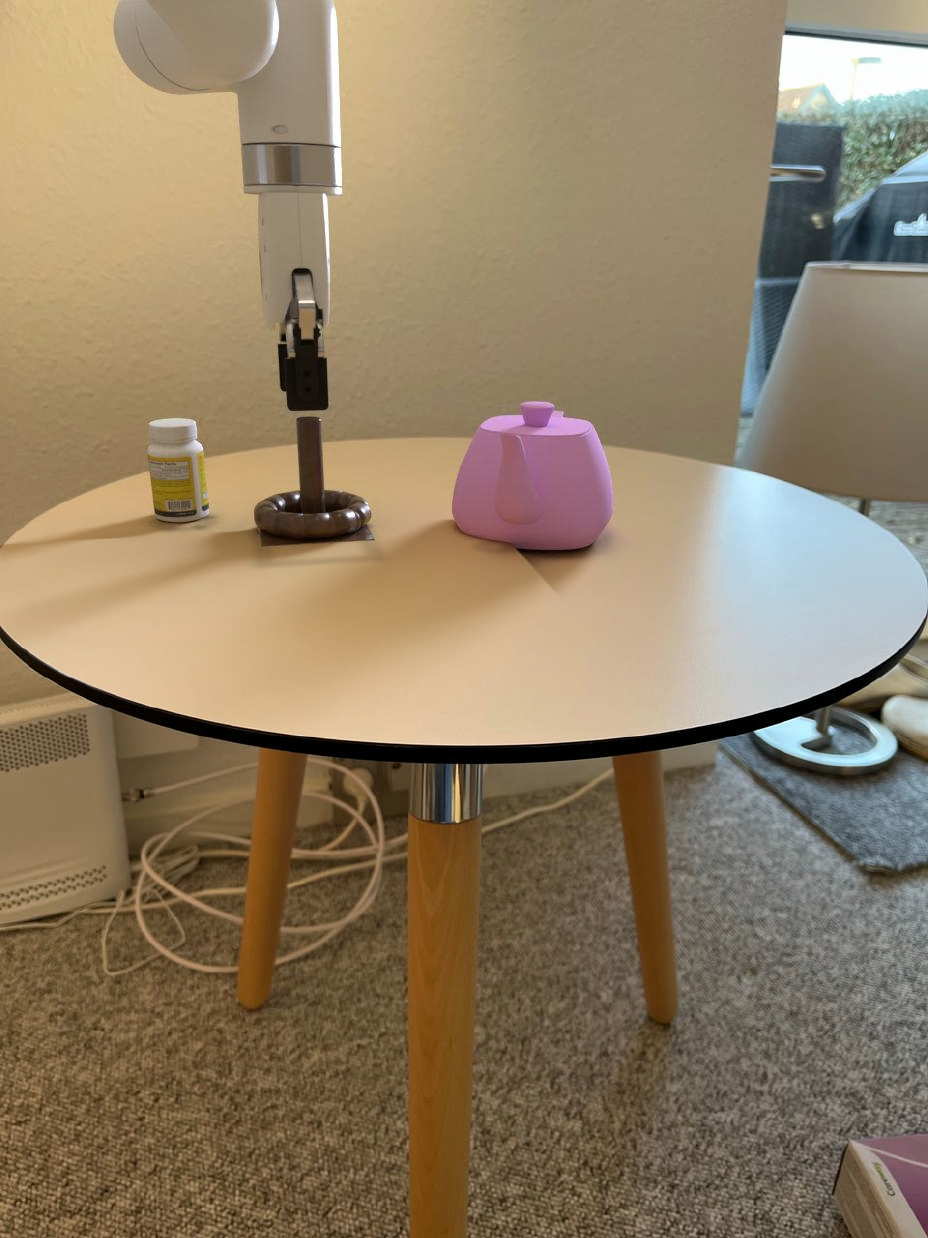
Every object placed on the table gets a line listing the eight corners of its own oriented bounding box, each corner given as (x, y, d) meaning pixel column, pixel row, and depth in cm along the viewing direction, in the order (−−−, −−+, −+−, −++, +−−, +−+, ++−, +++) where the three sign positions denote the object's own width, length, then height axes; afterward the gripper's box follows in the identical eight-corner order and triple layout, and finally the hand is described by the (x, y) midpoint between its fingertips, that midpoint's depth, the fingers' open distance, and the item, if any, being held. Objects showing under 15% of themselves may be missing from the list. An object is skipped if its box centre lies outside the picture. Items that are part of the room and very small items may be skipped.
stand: (262, 558, 77) (253, 431, 74) (257, 526, 85) (249, 410, 82) (375, 551, 79) (372, 427, 75) (360, 520, 87) (357, 407, 84)
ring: (256, 544, 77) (254, 520, 76) (253, 512, 86) (252, 489, 85) (377, 538, 79) (377, 514, 78) (363, 506, 88) (362, 485, 87)
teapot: (420, 565, 76) (419, 421, 72) (483, 500, 94) (485, 382, 90) (592, 581, 73) (601, 432, 69) (623, 511, 91) (631, 389, 87)
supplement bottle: (186, 506, 91) (177, 415, 88) (220, 514, 89) (212, 421, 85) (143, 517, 88) (132, 422, 84) (177, 526, 85) (167, 429, 82)
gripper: (240, 177, 82) (253, 385, 89) (245, 167, 67) (261, 420, 73) (330, 179, 84) (337, 383, 90) (355, 169, 68) (361, 417, 75)
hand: (303, 399), depth 82 cm, fingers open, 9 cm apart
